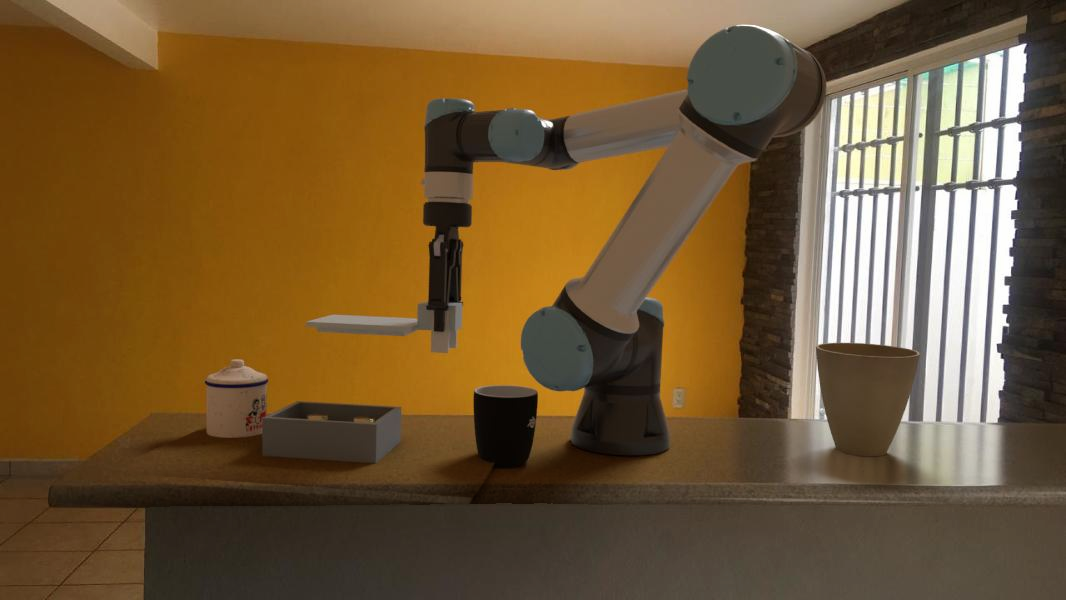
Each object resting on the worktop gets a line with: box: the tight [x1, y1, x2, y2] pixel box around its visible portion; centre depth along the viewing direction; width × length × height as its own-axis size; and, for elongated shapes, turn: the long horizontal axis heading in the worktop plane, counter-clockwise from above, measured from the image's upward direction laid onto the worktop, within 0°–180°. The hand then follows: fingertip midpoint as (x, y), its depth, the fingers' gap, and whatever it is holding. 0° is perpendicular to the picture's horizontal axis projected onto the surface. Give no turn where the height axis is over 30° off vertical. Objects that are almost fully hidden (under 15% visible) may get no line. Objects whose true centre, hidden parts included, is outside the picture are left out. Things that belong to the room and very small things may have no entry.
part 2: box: [354, 416, 375, 423], centre depth 125 cm, size 3×3×4 cm
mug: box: [473, 384, 539, 469], centre depth 122 cm, size 12×9×10 cm
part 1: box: [307, 413, 328, 420], centre depth 126 cm, size 3×3×4 cm
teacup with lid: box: [204, 358, 269, 439], centre depth 133 cm, size 12×9×12 cm
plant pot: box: [815, 342, 921, 457], centre depth 133 cm, size 15×15×16 cm
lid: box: [305, 301, 464, 337], centre depth 137 cm, size 23×12×5 cm, turn 83°
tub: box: [261, 400, 402, 464], centre depth 123 cm, size 16×12×6 cm
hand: (444, 349), depth 136 cm, fingers closed on lid, 5 cm apart
